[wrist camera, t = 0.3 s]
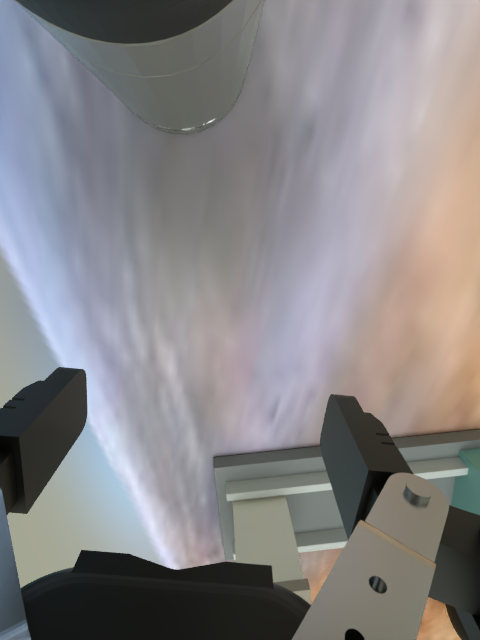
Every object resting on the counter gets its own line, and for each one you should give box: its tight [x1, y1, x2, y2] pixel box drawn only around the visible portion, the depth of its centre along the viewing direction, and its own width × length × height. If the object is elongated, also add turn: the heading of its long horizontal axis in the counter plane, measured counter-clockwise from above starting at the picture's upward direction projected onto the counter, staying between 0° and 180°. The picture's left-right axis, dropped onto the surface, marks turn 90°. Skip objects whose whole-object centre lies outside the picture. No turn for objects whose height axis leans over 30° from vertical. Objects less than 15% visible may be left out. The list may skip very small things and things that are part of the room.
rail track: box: [214, 429, 480, 560], centre depth 35 cm, size 12×28×8 cm, turn 95°
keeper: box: [233, 495, 310, 604], centre depth 32 cm, size 6×5×10 cm
